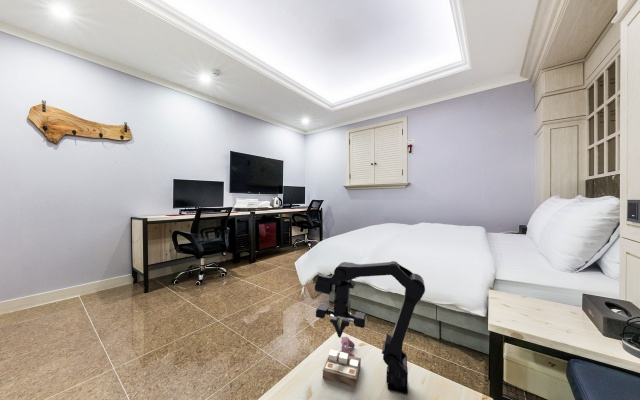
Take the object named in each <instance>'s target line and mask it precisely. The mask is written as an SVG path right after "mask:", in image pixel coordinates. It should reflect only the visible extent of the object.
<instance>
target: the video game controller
mask: <svg viewBox="0 0 640 400" xmlns="http://www.w3.org/2000/svg"><path fill="white" fill-rule="evenodd" d="M340 342H341V352H343V353H347V354H348V355H349V356H354V357H356V356H355V355H354V354H353V353H352V352H351V350H350V348H352V349H354V348H355V346H356V345H355V343H354V342H353V341H352V340H351V339H350V338H349V337H348V336H343V337H342V336H341V341H340Z"/></svg>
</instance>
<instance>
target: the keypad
mask: <svg viewBox="0 0 640 400" xmlns="http://www.w3.org/2000/svg"><path fill="white" fill-rule="evenodd" d="M340 353H341V352H338V359H337V362H333V361H329V356H328V357H327V359H326V361H325V364H324V366H323V368H322V379H325V380H328V381H331V382H334V383H338V384H341V385H345V386H348V387H352V388H355V389H357V385H358V381H359V380H358V379H359V375H360V369H361V366H362V365H361V361H362V358H361V357H357V356H355V355H354V356H355V357H354V356H349V355H348V363H347V365H345V364H341V363H339V355H340ZM351 359H353V360H357V361H359V366H358V368H356V367H353V366H349V364H350V360H351Z"/></svg>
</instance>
